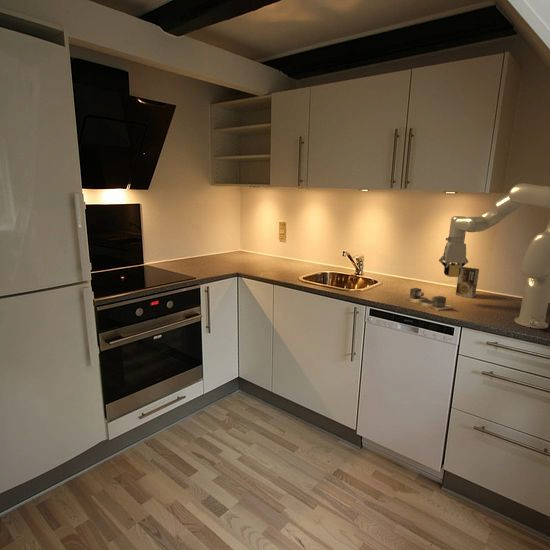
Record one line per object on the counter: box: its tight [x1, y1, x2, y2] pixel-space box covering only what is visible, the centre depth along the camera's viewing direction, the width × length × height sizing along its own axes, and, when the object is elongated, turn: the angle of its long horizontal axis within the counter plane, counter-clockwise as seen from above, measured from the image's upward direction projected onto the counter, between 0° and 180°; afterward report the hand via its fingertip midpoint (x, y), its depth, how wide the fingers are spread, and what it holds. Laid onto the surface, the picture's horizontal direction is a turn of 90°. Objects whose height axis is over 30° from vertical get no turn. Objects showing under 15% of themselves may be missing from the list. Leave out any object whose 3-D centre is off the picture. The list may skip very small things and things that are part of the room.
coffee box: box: [455, 266, 480, 299], centre depth 210 cm, size 9×6×16 cm
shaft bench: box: [404, 287, 453, 312], centre depth 193 cm, size 21×11×6 cm, turn 28°
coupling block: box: [445, 263, 460, 278], centre depth 192 cm, size 5×5×7 cm
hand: (451, 274), depth 193 cm, fingers closed on coupling block, 5 cm apart
